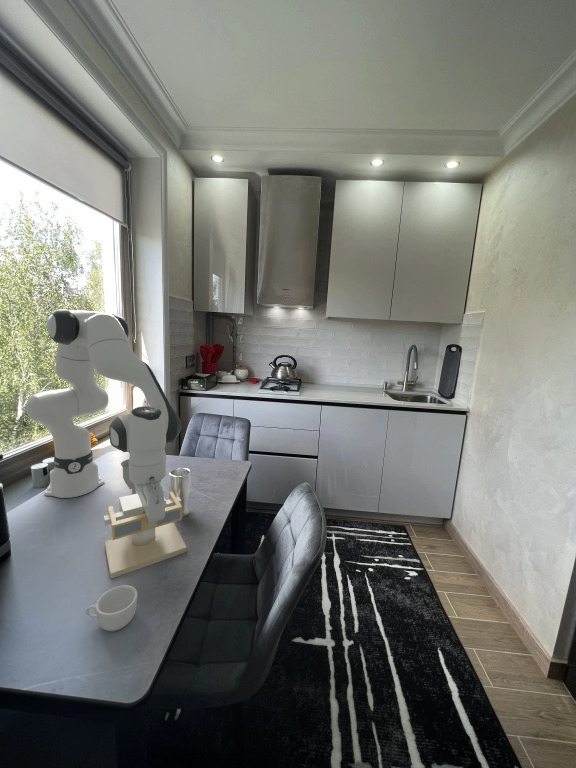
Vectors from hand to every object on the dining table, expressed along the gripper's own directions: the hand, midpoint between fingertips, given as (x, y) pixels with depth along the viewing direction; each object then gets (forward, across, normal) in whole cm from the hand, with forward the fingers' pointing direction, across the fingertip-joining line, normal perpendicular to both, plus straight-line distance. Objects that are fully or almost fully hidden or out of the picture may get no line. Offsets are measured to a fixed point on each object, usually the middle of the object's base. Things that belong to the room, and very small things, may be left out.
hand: (149, 518), depth 83 cm
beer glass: (+13, +18, -14) cm, 26 cm away
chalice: (+13, +26, 0) cm, 29 cm away
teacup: (+13, -14, +10) cm, 22 cm away
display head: (+13, +6, 0) cm, 14 cm away
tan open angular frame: (+3, +4, 0) cm, 5 cm away
